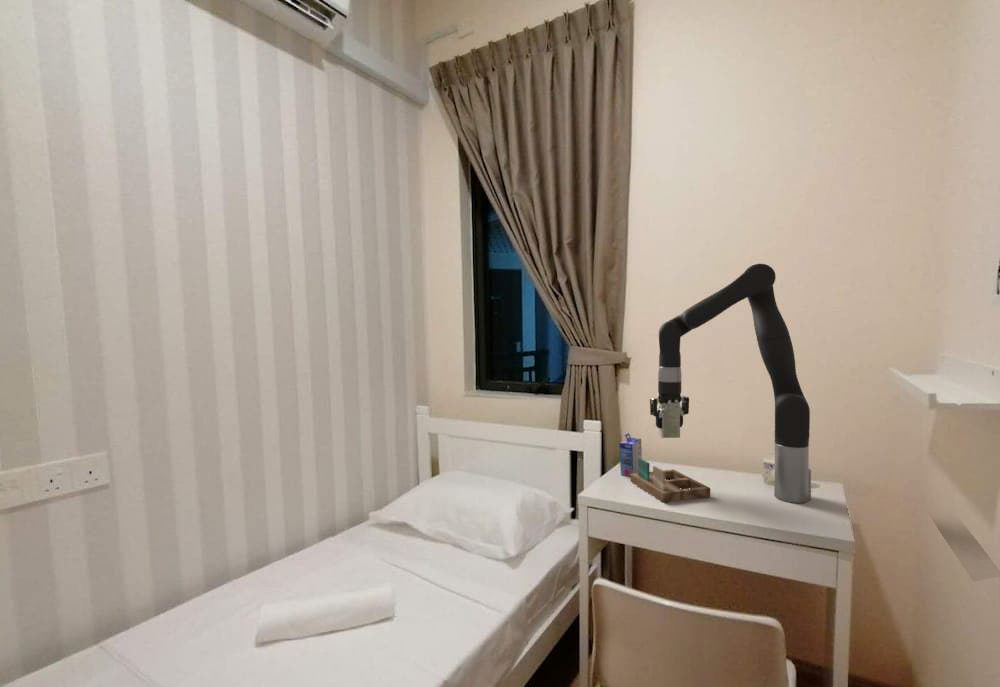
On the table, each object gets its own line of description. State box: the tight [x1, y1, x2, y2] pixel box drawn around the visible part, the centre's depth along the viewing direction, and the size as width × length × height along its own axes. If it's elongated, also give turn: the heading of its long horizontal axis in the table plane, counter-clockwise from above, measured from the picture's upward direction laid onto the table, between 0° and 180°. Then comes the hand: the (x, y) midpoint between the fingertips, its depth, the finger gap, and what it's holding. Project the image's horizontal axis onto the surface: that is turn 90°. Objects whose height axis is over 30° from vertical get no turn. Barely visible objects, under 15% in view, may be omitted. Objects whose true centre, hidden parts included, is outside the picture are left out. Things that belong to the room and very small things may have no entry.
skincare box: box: [658, 402, 681, 439], centre depth 168 cm, size 6×4×12 cm
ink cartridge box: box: [619, 433, 643, 477], centre depth 183 cm, size 10×6×14 cm, turn 146°
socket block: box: [630, 458, 711, 503], centre depth 164 cm, size 17×20×9 cm
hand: (669, 427), depth 168 cm, fingers closed on skincare box, 7 cm apart
